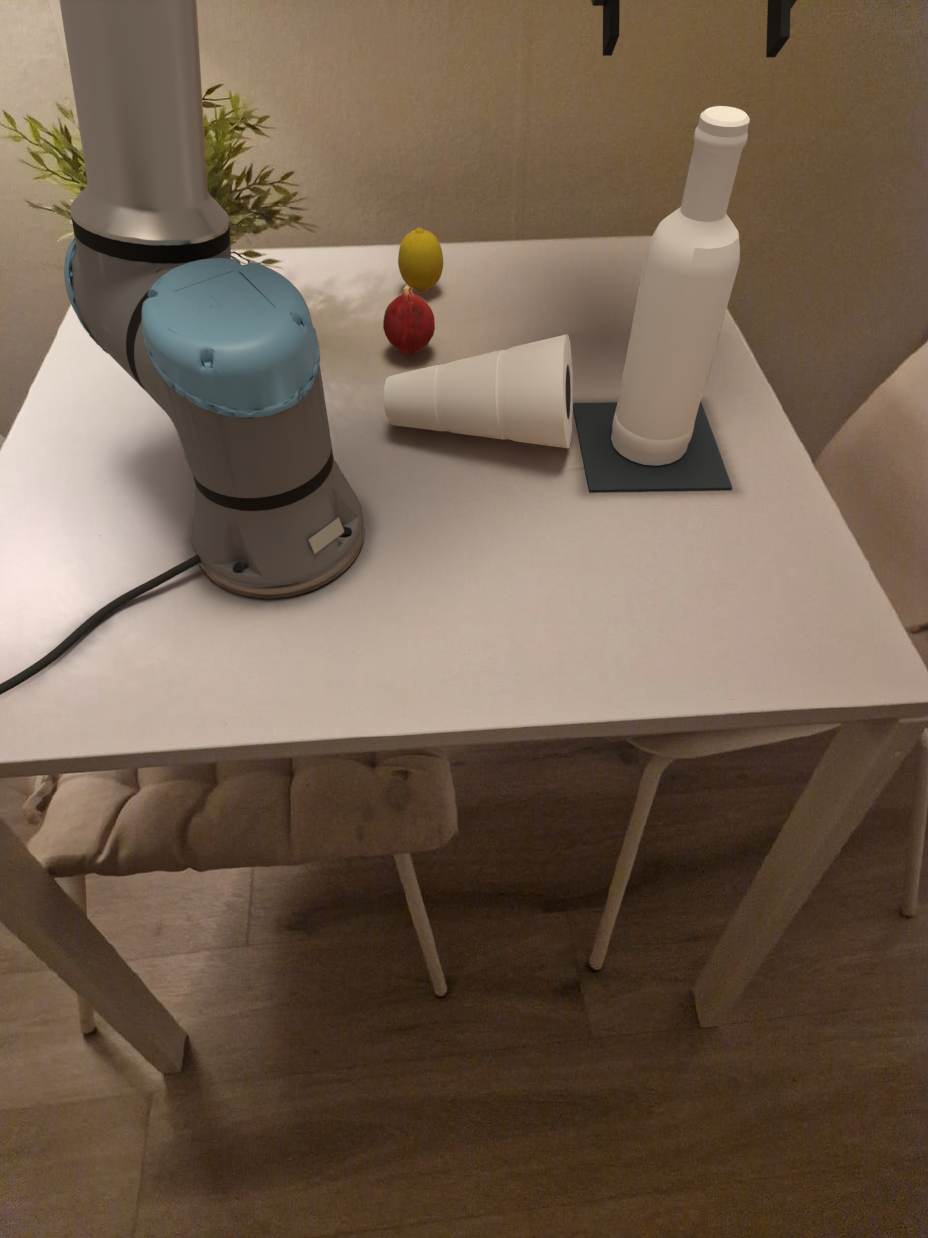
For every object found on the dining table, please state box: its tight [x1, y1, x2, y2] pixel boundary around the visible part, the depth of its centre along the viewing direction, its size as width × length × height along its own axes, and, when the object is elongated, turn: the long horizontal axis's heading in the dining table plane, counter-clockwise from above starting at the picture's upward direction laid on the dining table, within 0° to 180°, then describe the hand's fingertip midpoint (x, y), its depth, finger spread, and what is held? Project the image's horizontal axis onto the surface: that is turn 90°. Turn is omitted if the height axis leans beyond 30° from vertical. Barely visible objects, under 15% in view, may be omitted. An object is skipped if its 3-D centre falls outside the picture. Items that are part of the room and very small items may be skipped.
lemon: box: [397, 227, 444, 294], centre depth 98 cm, size 6×6×8 cm
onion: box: [382, 284, 436, 355], centre depth 89 cm, size 6×6×8 cm
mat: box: [573, 401, 733, 493], centre depth 82 cm, size 14×14×1 cm
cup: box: [383, 333, 574, 449], centre depth 79 cm, size 11×11×18 cm
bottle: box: [611, 105, 751, 466], centre depth 70 cm, size 8×8×30 cm
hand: (694, 47), depth 64 cm, fingers open, 13 cm apart
